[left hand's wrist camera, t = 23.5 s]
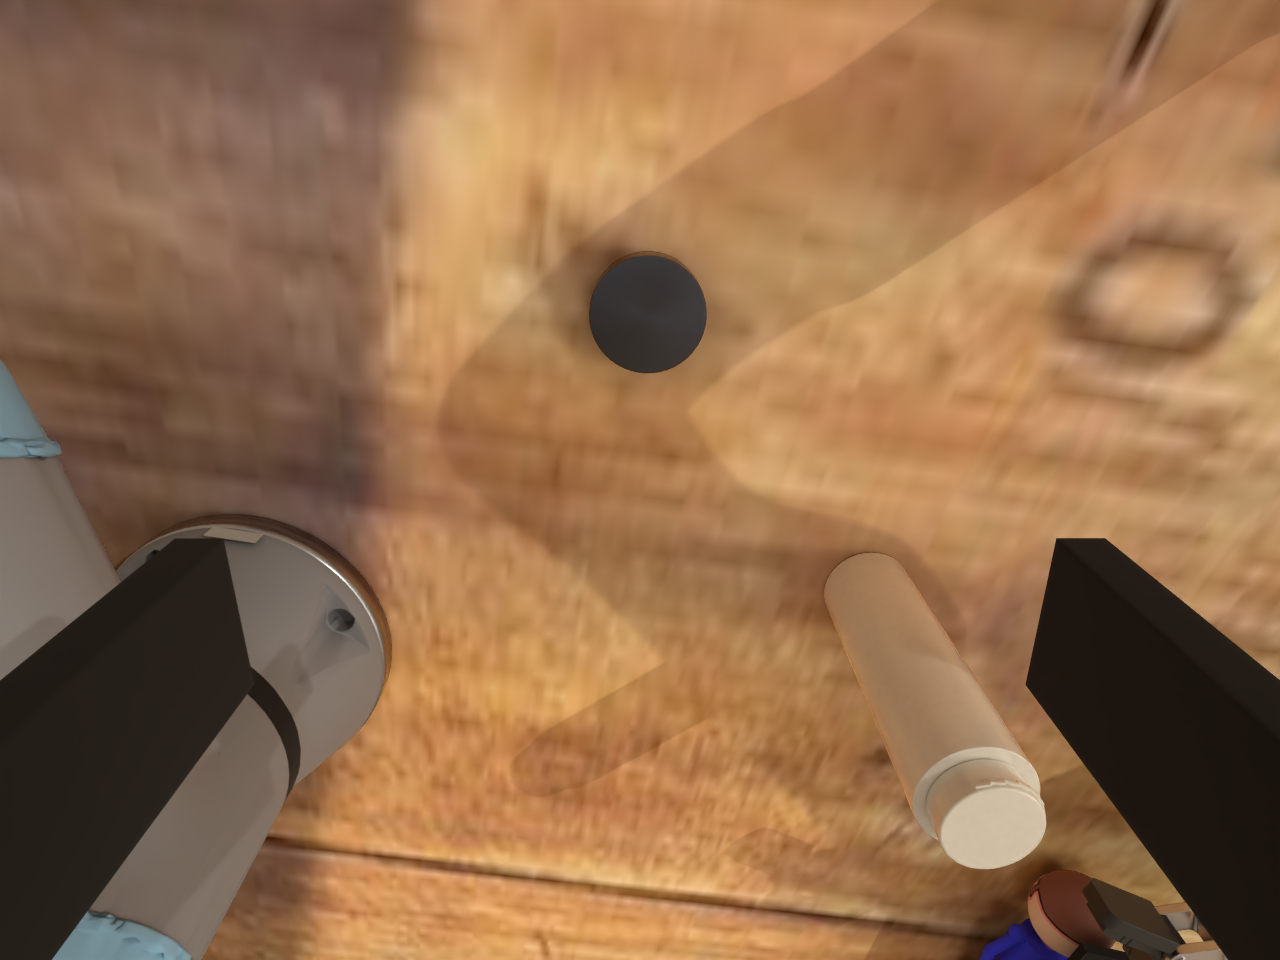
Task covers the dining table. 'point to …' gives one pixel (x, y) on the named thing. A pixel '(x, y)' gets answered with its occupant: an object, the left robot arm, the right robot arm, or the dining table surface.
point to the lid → (647, 312)
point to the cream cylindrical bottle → (935, 718)
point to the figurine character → (1055, 925)
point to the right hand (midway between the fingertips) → (1159, 836)
